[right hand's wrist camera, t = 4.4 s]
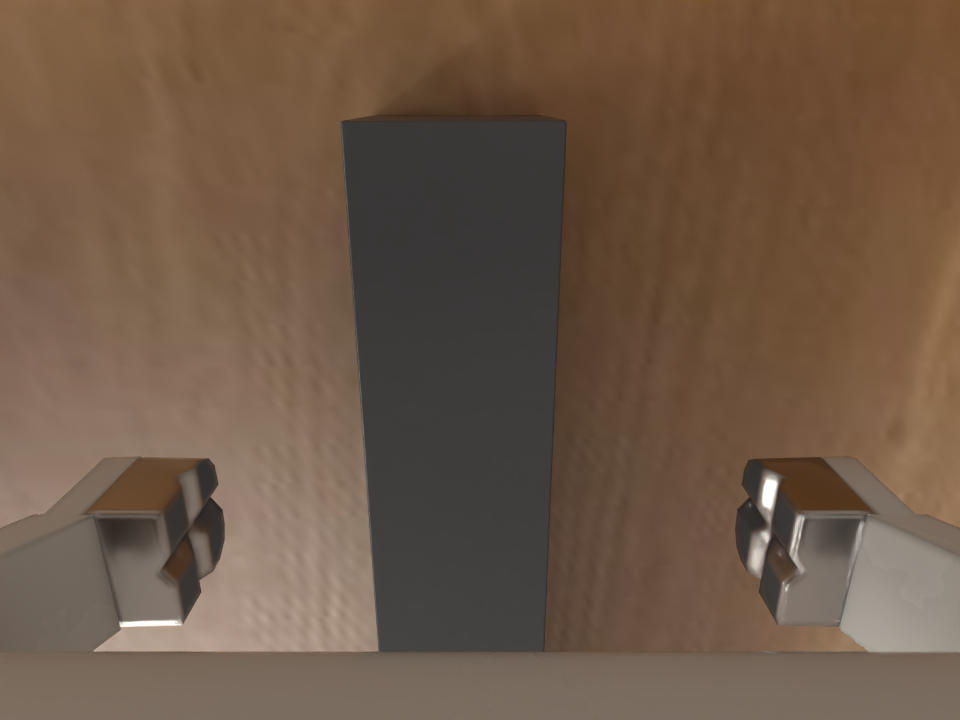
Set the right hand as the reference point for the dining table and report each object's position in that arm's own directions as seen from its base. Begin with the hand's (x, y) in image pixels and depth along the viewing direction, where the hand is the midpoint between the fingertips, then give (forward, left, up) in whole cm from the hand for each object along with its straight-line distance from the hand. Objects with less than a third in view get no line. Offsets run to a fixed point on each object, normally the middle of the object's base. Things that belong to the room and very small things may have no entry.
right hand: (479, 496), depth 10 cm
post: (+19, -9, -12) cm, 24 cm away
